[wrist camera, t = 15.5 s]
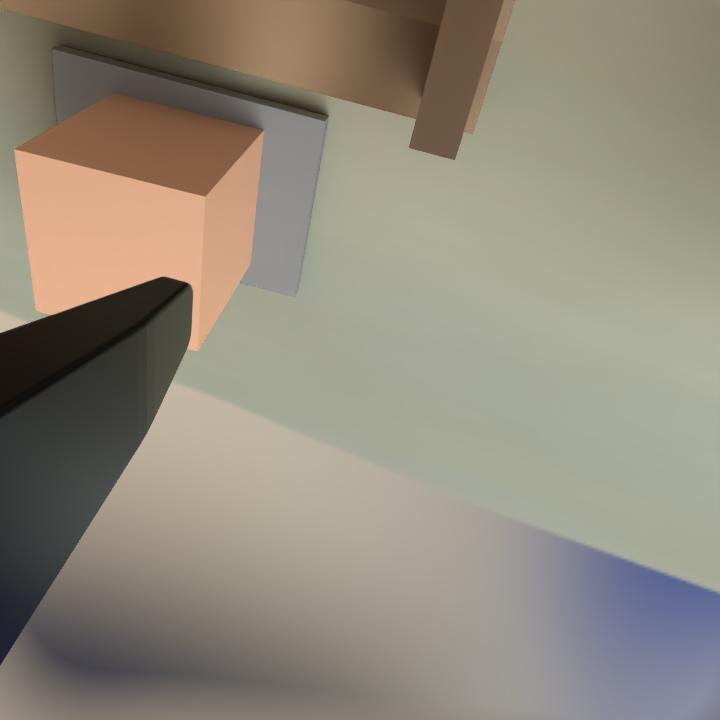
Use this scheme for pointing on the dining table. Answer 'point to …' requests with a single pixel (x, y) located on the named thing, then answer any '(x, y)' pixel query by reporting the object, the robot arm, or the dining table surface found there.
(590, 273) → the dining table surface
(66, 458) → the robot arm
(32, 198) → the terracotta block
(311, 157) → the grey pad
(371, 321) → the dining table surface
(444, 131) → the walnut board
